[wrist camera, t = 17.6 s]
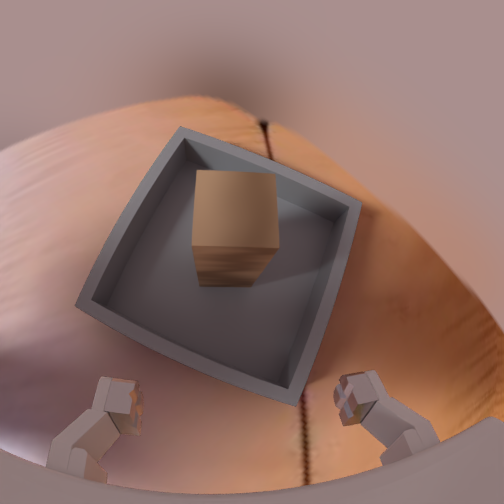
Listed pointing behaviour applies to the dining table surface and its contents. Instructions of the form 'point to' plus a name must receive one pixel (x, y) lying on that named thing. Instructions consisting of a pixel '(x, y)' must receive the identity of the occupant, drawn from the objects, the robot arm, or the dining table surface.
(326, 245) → the bin
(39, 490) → the robot arm
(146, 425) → the dining table surface
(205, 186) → the walnut block
